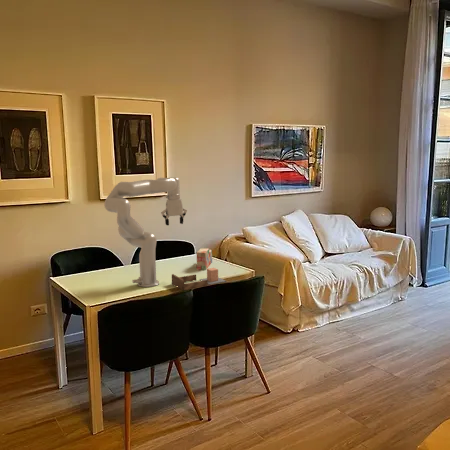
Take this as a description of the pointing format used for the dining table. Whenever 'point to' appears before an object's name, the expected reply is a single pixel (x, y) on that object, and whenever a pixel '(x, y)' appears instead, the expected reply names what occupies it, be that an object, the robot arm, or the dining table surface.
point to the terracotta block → (212, 274)
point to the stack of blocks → (204, 258)
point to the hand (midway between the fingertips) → (174, 224)
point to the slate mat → (214, 281)
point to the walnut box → (180, 283)
